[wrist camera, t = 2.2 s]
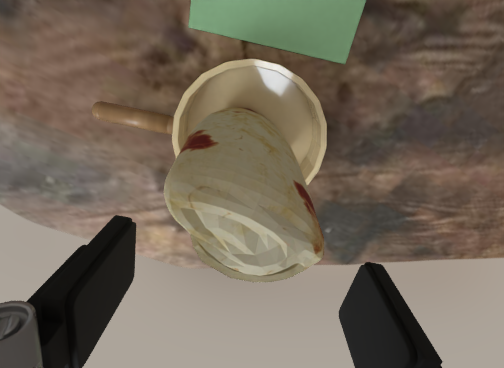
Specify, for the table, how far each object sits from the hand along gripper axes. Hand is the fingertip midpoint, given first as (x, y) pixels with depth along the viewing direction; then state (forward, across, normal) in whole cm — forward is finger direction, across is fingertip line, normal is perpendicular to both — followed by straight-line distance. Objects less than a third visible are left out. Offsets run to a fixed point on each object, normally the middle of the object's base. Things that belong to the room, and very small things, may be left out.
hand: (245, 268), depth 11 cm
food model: (+21, 0, 0) cm, 21 cm away
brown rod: (+19, +12, 0) cm, 22 cm away
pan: (+22, 0, 0) cm, 22 cm away
